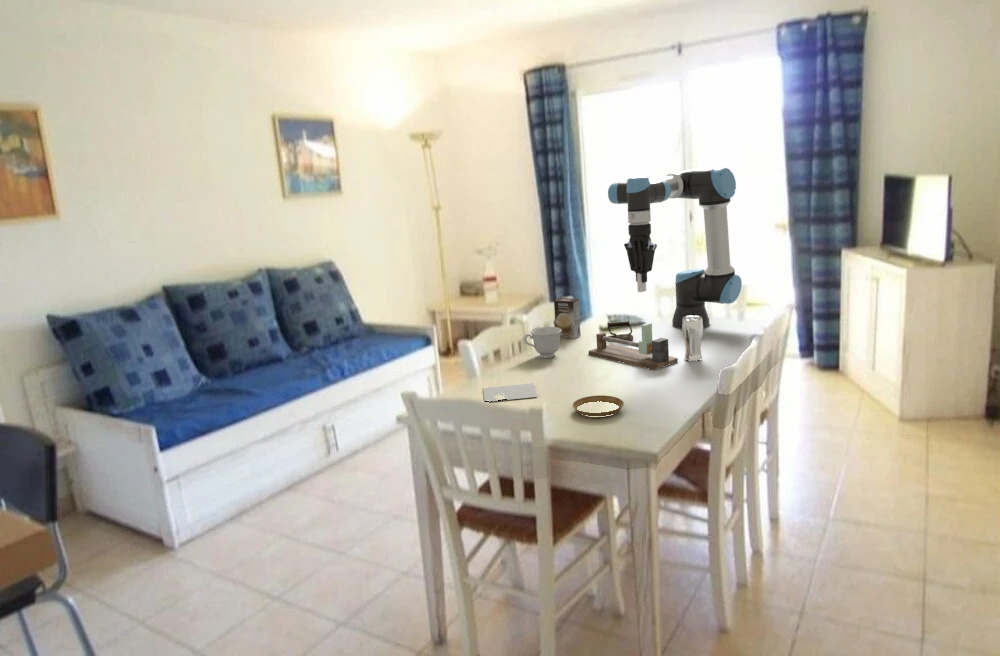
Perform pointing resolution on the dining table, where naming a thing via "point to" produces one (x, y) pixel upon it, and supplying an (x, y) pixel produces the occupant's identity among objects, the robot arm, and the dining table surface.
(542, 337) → the teacup
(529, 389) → the paper stack
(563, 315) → the coffee box
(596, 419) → the dining table surface
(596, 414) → the plant saucer
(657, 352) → the rack
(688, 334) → the beer glass
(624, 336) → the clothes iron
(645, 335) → the sleeve
